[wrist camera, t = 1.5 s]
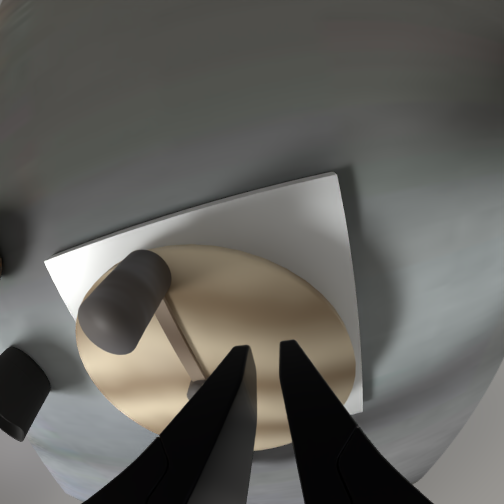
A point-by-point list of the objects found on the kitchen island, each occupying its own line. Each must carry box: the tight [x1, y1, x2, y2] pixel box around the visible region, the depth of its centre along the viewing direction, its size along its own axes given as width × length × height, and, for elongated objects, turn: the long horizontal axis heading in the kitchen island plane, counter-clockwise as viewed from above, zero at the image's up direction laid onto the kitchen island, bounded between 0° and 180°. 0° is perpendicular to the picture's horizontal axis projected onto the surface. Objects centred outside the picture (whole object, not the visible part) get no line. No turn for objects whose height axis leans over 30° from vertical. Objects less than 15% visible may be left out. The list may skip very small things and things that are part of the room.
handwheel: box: [76, 244, 356, 451], centre depth 18 cm, size 22×21×8 cm
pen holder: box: [0, 348, 50, 442], centre depth 24 cm, size 9×9×10 cm
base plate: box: [44, 171, 363, 415], centre depth 22 cm, size 23×23×1 cm
